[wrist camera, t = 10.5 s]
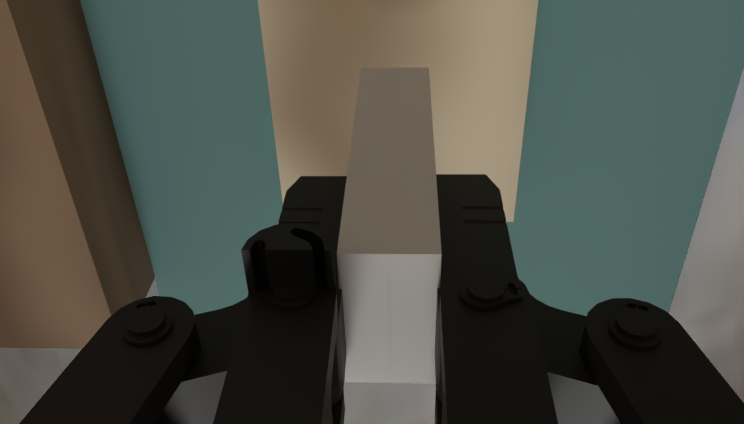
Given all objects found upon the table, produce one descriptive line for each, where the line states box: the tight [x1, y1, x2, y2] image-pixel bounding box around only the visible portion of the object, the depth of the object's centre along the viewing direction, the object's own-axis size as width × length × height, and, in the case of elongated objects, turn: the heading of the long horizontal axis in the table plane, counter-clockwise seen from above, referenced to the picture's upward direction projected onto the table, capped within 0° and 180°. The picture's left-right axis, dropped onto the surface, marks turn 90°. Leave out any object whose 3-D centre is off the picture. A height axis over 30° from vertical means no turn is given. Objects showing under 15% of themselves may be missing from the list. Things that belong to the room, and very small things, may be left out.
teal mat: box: [80, 0, 744, 316], centre depth 20 cm, size 19×22×1 cm
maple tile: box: [258, 0, 538, 222], centre depth 19 cm, size 7×10×2 cm
